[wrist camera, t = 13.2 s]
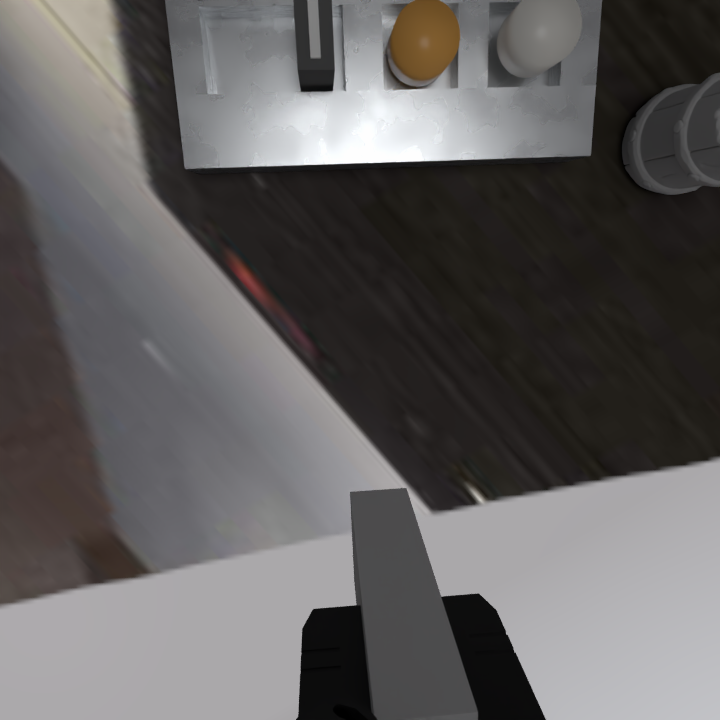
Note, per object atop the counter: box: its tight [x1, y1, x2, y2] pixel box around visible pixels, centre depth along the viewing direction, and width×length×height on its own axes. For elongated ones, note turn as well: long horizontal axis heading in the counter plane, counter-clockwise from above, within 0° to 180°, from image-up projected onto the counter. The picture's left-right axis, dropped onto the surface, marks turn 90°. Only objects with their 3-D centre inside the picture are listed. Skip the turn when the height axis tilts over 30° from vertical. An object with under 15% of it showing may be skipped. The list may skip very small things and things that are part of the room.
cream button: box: [497, 0, 582, 78], centre depth 32 cm, size 4×4×3 cm
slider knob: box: [293, 0, 335, 92], centre depth 33 cm, size 2×4×5 cm, turn 2°
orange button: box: [387, 0, 460, 86], centre depth 33 cm, size 4×4×3 cm
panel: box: [165, 0, 602, 174], centre depth 35 cm, size 28×14×5 cm, turn 92°
